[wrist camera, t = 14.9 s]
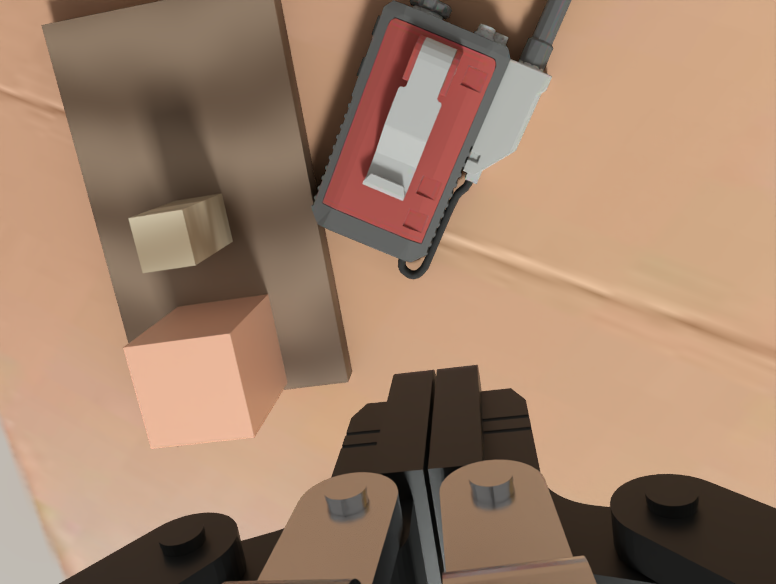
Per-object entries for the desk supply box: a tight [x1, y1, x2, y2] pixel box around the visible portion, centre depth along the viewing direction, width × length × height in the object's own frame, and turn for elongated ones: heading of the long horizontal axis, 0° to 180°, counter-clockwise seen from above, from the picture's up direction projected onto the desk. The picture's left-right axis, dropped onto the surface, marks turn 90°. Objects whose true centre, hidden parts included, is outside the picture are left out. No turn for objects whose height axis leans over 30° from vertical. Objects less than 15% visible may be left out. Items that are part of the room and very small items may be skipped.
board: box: [42, 0, 352, 390], centre depth 36 cm, size 21×12×7 cm, turn 10°
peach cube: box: [123, 294, 287, 449], centre depth 36 cm, size 5×5×7 cm
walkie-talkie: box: [311, 0, 571, 279], centre depth 34 cm, size 9×4×20 cm
